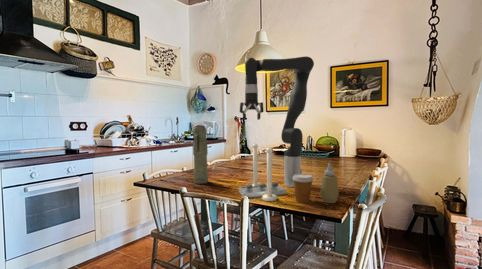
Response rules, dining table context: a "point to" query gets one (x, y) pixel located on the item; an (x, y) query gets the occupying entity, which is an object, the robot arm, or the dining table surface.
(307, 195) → the disposable coffee cup
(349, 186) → the dining table surface
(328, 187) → the squeeze bottle
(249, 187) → the paddle
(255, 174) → the far post
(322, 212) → the dining table surface
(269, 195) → the near post
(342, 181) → the dining table surface
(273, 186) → the paddle
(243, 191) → the breaker panel
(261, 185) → the middle paddle
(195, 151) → the thermos
